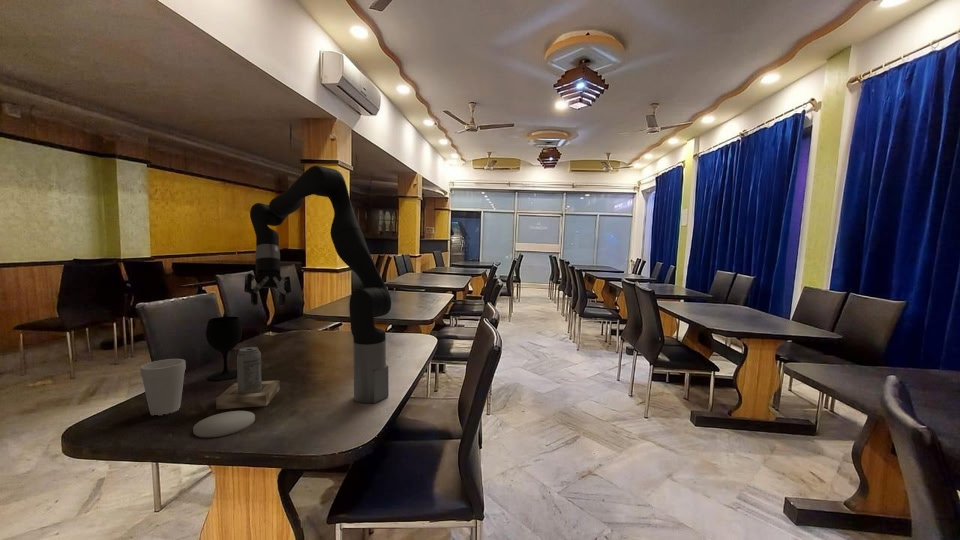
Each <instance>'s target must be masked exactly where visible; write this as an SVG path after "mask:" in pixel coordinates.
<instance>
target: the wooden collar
mask: <svg viewBox="0 0 960 540" xmlns="http://www.w3.org/2000/svg"><path fill="white" fill-rule="evenodd" d="M261 384H262V391H261V392H260V393H248V394H238V382H234V383H233V384H232V385H230V386H229V387H228V388H227V389H226V390H225V391H223V392H222V393H221V394H219V395H218V397H216V399H215V402H216V403H215V405H216V410H226V409H240V408H253V407H256V408H257V407H267V406H268V404H269V403H270V402H271V401H272V400H273V398H274V397H275V396H276V395H277V393H278V392H279V391H280V390H281V389H280V387H281V385H280V380H275V379H274V380H261Z"/></svg>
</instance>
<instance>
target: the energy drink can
mask: <svg viewBox="0 0 960 540" xmlns="http://www.w3.org/2000/svg"><path fill="white" fill-rule="evenodd" d="M236 366H237V367H236V370H237V378H236V379H237V383H238V394H248V393H260V392H261V391H262V384H261V381H262V353H261V351H260V350H259V347H258V346H248V347H247V346H245V347H241V348H240V349H238V354H237V355H236Z"/></svg>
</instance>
